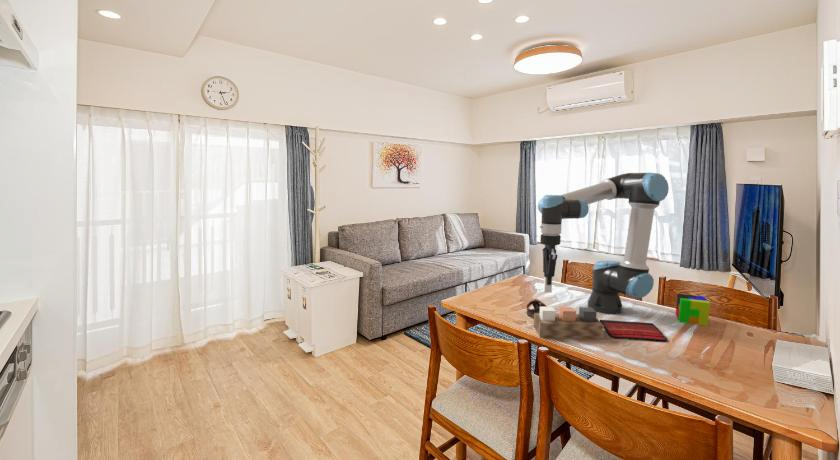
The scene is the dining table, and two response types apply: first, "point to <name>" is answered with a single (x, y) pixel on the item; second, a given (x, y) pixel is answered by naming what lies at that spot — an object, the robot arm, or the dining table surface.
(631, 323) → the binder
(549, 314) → the white block
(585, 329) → the key block
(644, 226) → the robot arm
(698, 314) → the puzzle toy
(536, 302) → the pottery mug
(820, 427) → the dining table surface
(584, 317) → the dark grey block
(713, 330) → the dining table surface
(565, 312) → the salmon orange block
